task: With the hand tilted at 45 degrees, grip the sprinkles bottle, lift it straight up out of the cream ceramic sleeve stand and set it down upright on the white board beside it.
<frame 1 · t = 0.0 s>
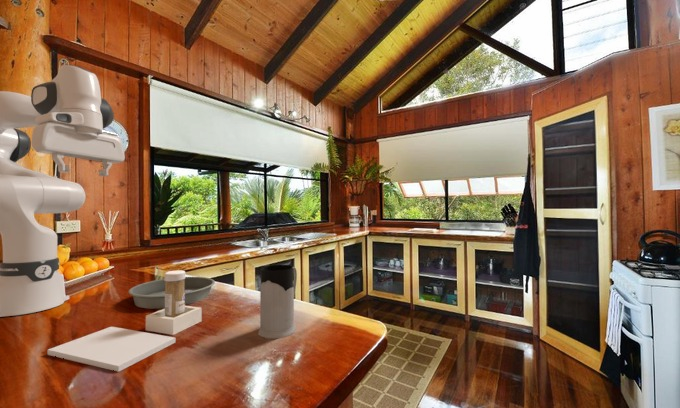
hand: (85, 174, 79), 39 cm above the kitchen counter, tool pointing down, fingers open, 8 cm apart
sprinkles bottle: (174, 326, 72), resting in sleeve stand
sleeve stand: (174, 325, 72), on the kitchen counter
grey ceramic mug: (282, 326, 72), on the kitchen counter
white board: (114, 348, 60), on the kitchen counter
cake pan: (174, 298, 95), on the kitchen counter
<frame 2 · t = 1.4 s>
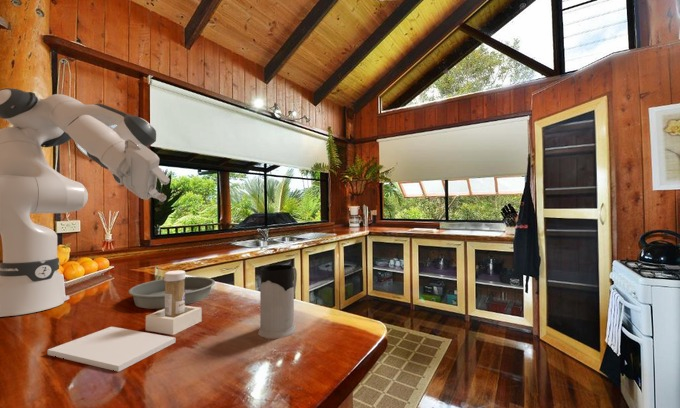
hand: (166, 191, 83), 34 cm above the kitchen counter, tool tilted 50°, fingers open, 8 cm apart
nothing on the kitchen counter moved.
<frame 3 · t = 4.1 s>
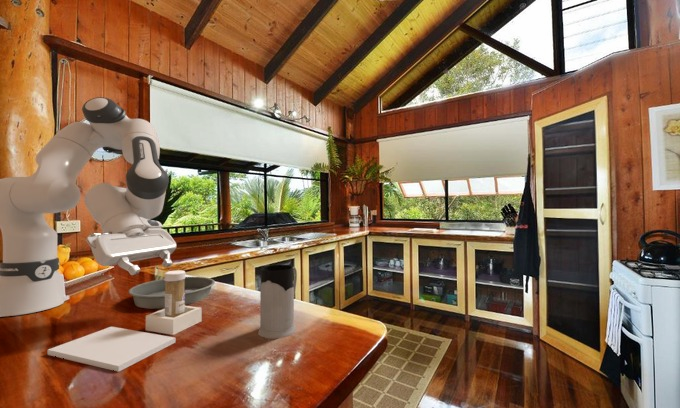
hand: (153, 269, 76), 13 cm above the kitchen counter, tool tilted 45°, fingers open, 8 cm apart
nothing on the kitchen counter moved.
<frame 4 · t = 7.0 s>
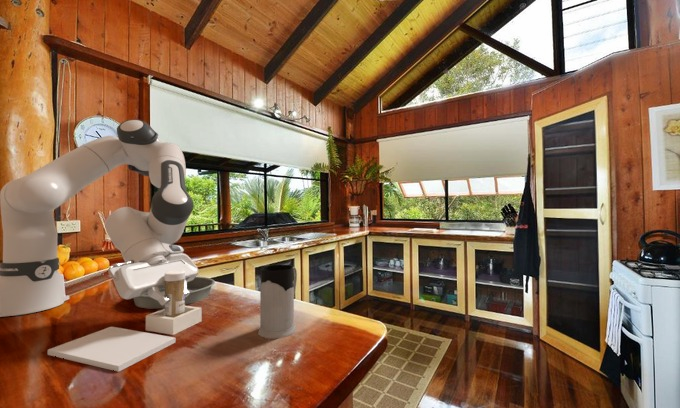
hand: (176, 299, 72), 7 cm above the kitchen counter, tool tilted 45°, fingers closed on sprinkles bottle, 4 cm apart
sprinkles bottle: (174, 326, 72), resting in sleeve stand, touching gripper
everything else where it was.
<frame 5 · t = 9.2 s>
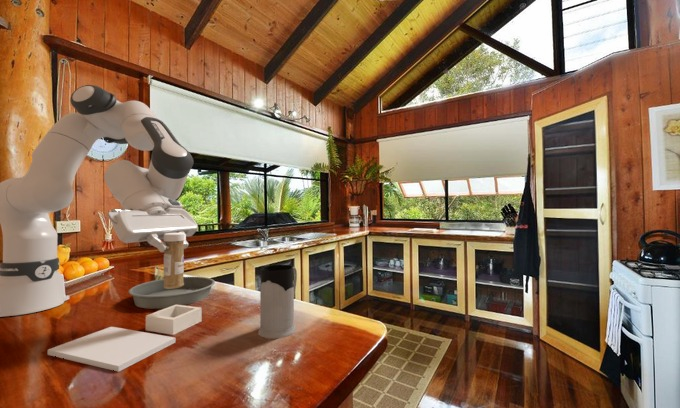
hand: (175, 248, 72), 19 cm above the kitchen counter, tool tilted 45°, fingers closed on sprinkles bottle, 4 cm apart
sprinkles bottle: (173, 287, 72), point 10 cm above the kitchen counter, touching gripper
everything else where it was.
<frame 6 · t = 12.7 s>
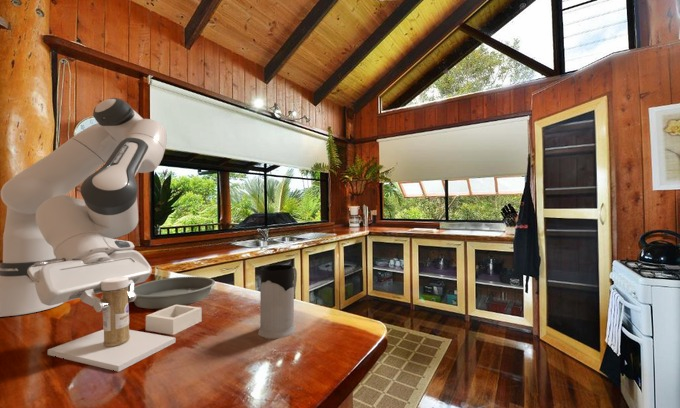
hand: (118, 304, 61), 9 cm above the kitchen counter, tool tilted 45°, fingers closed on sprinkles bottle, 4 cm apart
sprinkles bottle: (116, 343, 61), point 1 cm above the kitchen counter, touching white board, gripper
everything else where it was.
when the fingers open (9 cm above the kitchen counter, at t = 13.3 s): sprinkles bottle stays where it is, resting on white board.
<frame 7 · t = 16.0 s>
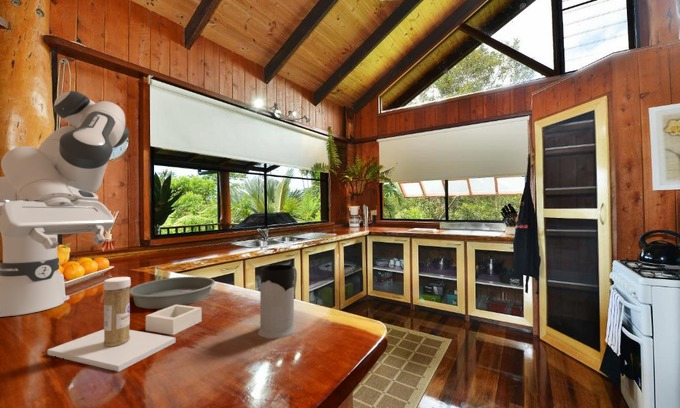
hand: (78, 244, 65), 21 cm above the kitchen counter, tool tilted 45°, fingers open, 8 cm apart
sprinkles bottle: (116, 343, 61), point 1 cm above the kitchen counter, touching white board
everything else where it was.
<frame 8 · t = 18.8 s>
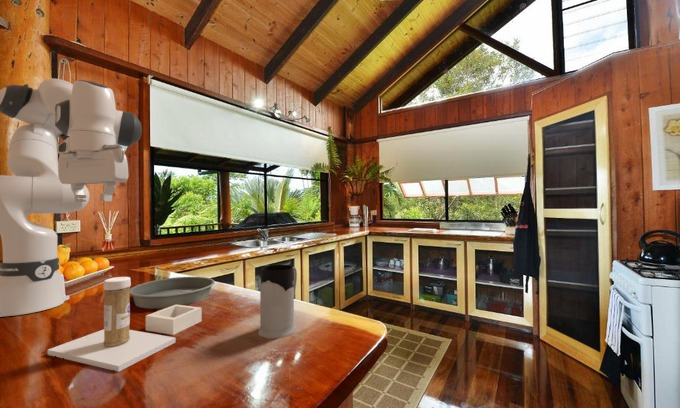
hand: (92, 201, 72), 31 cm above the kitchen counter, tool pointing down, fingers open, 8 cm apart
nothing on the kitchen counter moved.
at the end: sprinkles bottle inside the target area on the white board (0.5 cm from its centre), point 0.8 cm above the white board's base; sprinkles bottle tilted 0°; the gripper is holding nothing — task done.
